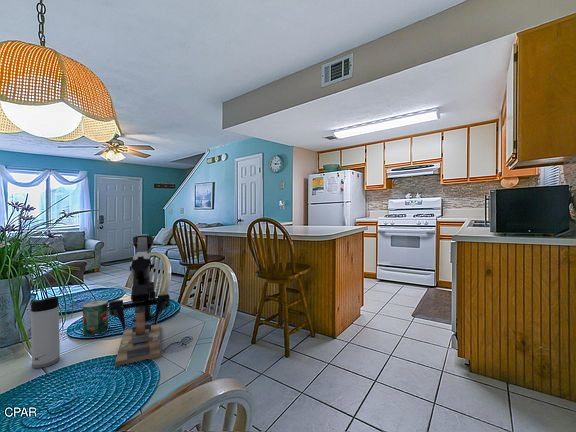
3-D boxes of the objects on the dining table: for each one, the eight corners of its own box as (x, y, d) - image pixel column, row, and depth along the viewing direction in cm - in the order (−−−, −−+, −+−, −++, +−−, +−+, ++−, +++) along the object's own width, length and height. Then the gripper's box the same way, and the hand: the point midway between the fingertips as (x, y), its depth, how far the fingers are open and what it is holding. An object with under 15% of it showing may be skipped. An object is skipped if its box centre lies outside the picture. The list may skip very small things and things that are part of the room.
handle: (132, 337, 91) (132, 306, 91) (149, 334, 93) (148, 304, 93) (131, 343, 87) (130, 311, 87) (148, 340, 89) (148, 308, 89)
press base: (124, 333, 99) (124, 323, 99) (159, 327, 104) (159, 317, 104) (115, 367, 78) (115, 354, 78) (160, 356, 83) (160, 344, 83)
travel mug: (36, 371, 76) (34, 302, 76) (29, 364, 79) (27, 298, 79) (63, 360, 81) (62, 296, 81) (55, 354, 85) (54, 292, 84)
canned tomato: (111, 331, 102) (110, 302, 101) (85, 338, 96) (85, 308, 96) (105, 325, 107) (104, 298, 107) (80, 331, 101) (80, 303, 101)
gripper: (108, 277, 89) (103, 322, 80) (169, 271, 98) (170, 311, 88) (112, 294, 96) (108, 337, 87) (168, 287, 105) (170, 325, 95)
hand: (140, 327), depth 89 cm, fingers open, 9 cm apart
